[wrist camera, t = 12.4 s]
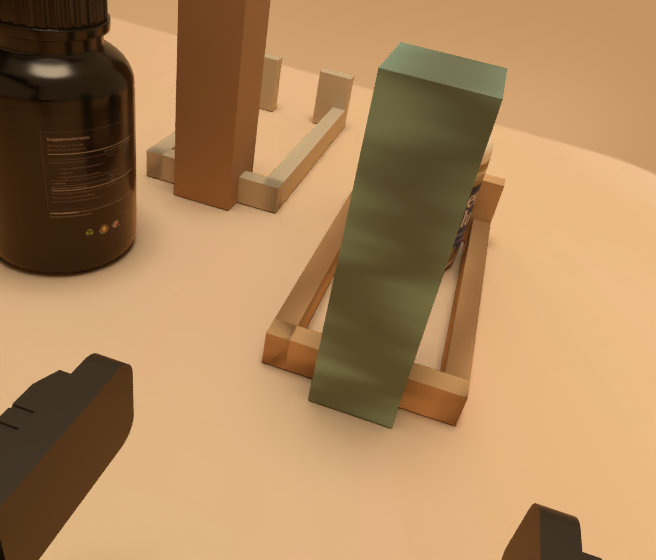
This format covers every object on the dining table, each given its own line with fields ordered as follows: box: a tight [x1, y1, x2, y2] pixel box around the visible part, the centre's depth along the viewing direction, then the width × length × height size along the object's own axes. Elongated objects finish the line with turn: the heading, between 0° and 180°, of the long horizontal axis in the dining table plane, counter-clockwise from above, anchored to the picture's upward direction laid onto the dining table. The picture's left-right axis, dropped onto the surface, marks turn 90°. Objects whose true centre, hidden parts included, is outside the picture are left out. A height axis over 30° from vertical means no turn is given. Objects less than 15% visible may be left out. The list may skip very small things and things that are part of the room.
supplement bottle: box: [0, 0, 137, 274], centre depth 27 cm, size 7×7×12 cm
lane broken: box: [147, 0, 354, 213], centre depth 38 cm, size 8×17×13 cm, turn 164°
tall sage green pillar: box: [262, 42, 507, 428], centre depth 27 cm, size 8×17×13 cm, turn 164°
